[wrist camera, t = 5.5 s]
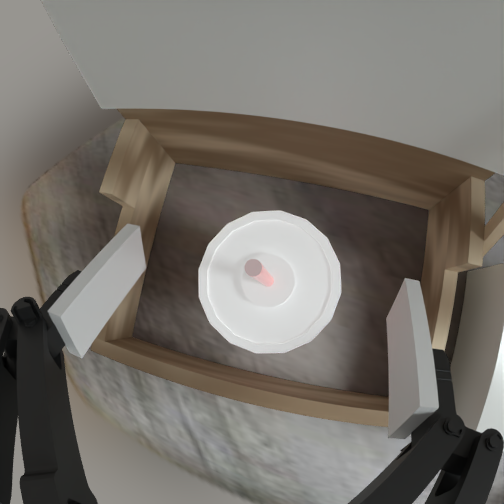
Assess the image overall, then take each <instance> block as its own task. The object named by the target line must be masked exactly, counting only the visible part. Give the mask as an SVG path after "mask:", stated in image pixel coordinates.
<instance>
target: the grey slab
mask: <svg viewBox="0 0 504 504" xmlns="http://www.w3.org/2000/svg"><path fill="white" fill-rule="evenodd" d="M450 369H451V371H450V373H451V376H452V383H453V390H454V398H455V407H456V413H457V415H459V416H460V417H461V419H462V420H463V422H464V424H465V426H466V427H468V428H470V429H473V430H475V431H478V432H480V433H483V432H484V431H485V430H486V429H490V428H493V429H496V430H497V431H499V432H500V433H501V435H502V437H503V440H504V263H502V264H498V265H494V266H490V267H486V268H482V269H478V270H473V271H469V272H467V280H466V288H465V295H464V302H463V308H462V314H461V320H460V325H459V331H458V336H457V340H456V345H455V350H454V354H453V358H452V362H451V366H450ZM503 452H504V448H503Z"/></svg>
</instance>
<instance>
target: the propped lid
mask: <svg viewBox="0 0 504 504" xmlns="http://www.w3.org/2000/svg"><path fill="white" fill-rule="evenodd" d="M41 1H42V4H43V5H44V7H45V9H46V11H47V13H48V15H49V17H50V19H51V21H52V23H53V25H54V27H55V28H56V30H57V32H58V34H59V36H60V37H61V39H62V41H63V43H64V45H65V47H66V49H67V50H68V52H69V54H70V56H71V58H72V59H73V61H74V63H75V64H76V66H77V68H78V70H79V72H80V73H81V75H82V77H83V78H84V80H85V82H86V84H87V86H88V87H89V89H90V91H91V92H92V94H93V96H94V98H95V99H96V101H97V103H98V104H99V106H100V108H101V109H178V110H197V111H212V112H224V113H235V114H245V115H254V116H262V117H270V118H278V119H285V120H292V121H298V122H305V123H311V124H316V125H322V126H328V127H333V128H338V129H343V130H348V131H353V132H358V133H362V134H367V135H371V136H376V137H380V138H384V139H388V140H392V141H396V142H400V143H404V144H408V145H411V146H415V147H418V148H422V149H426V150H429V151H432V152H436V153H439V154H442V155H446V156H449V157H452V158H455V159H458V160H461V161H464V162H467V163H470V164H473V165H476V166H479V167H481V168H484V169H487V170H490V171H492V172H495V173H498V174H500V175H503V176H504V0H41ZM503 235H504V202H503V204H502V205H501V206H500V207H499V209H498V210H497V211H496V213H495V214H494V215H493V217H492V218H491V219H490V220H489V222H488V223H487V224H486V225H485V231H484V249H483V257H484V255H485V254H486V253H487V252H488V251H489V250H490V249H491V248H492V247H493V246H494V245H495V244H496V243H497V241H498V240H499V239H500V238H501V237H502V236H503Z"/></svg>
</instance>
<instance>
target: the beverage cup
mask: <svg viewBox="0 0 504 504" xmlns="http://www.w3.org/2000/svg"><path fill="white" fill-rule="evenodd" d="M198 272H199V299H200V301H201V304H202V306H203V309H204V311H205V313H206V316H207V318H208V321H209V323H210V324H211V325H212V326H213V327H214V328H215V329H216V330H217V331H218V332H219V333H220V334H221V335H222V336H223V337H224V338H225V339H226V340H227V341H228V342H229V343H231V344H234V345H236V346H239V347H241V348H244V349H246V350H249V351H251V352H254V353H286V352H288V351H290V350H293V349H295V348H297V347H299V346H302V345H304V344H306V343H308V342H310V341H312V340H313V339H314V338H315V337H316V336H317V335H318V334H319V333H320V331H321V330H322V329H323V328H324V327H325V326H326V325H327V324H328V323H329V322H330V321H331V319H332V317H333V314H334V311H335V309H336V306H337V303H338V301H339V298H340V295H341V274H340V263H339V261H338V259H337V256H336V254H335V252H334V250H333V248H332V246H331V244H330V242H329V240H328V238H327V237H326V236H325V235H324V234H322V233H321V232H320V231H319V230H318V229H317V228H316V227H315V226H313V225H312V224H311V223H310V222H309V221H308V220H307V219H304V218H301V217H298V216H295V215H292V214H289V213H286V212H283V211H280V210H278V211H260V212H251V213H249V214H247V215H245V216H243V217H241V218H238V219H236V220H234V221H232V222H230V223H228V224H227V225H226V226H225V227H224V228H223V229H222V230H221V231H220V232H219V233H218V234H217V235H216V236H215V237H214V238H213V240H212V241H211V242H210V243H209V244H208V247H207V249H206V252H205V254H204V257H203V259H202V262H201V264H200V267H199V269H198Z"/></svg>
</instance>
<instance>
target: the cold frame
mask: <svg viewBox="0 0 504 504" xmlns="http://www.w3.org/2000/svg"><path fill="white" fill-rule="evenodd" d="M117 110H118V111H119V112H120V113H121V114H122V116H123V117H124V118H125V122H124V124H123V127H122V129H121V132H120V134H119V137H118V139H117V142H116V145H115V147H114V150H113V153H112V156H111V158H110V161H109V164H108V167H107V170H106V173H105V175H104V178H103V181H102V185H101V188H100V191H99V192H100V193H101V194H103V195H105V196H106V197H108V198H110V199H111V200H113V201H115V202H116V203H118V204H120V205H121V206H122V210H121V213H120V217H119V220H118V224H117V227H116V231H115V235H114V237H115V236H116V235H117V234H118V233H119V231H120V230H121V229H122V228H123V227H124V226H125V225H126V224H132V225H138V226H140V232H141V238H142V244H143V250H144V256H145V262H146V269H147V264H148V260H149V256H150V252H151V248H152V244H153V240H154V236H155V233H156V229H157V225H158V221H159V218H160V214H161V210H162V207H163V203H164V200H165V196H166V193H167V189H168V186H169V183H170V179H171V176H172V173H173V170H174V166H175V163H179V164H187V165H195V166H203V167H211V168H218V169H226V170H233V171H239V172H246V173H253V174H259V175H265V176H271V177H277V178H283V179H289V180H294V181H300V182H305V183H311V184H316V185H321V186H326V187H331V188H336V189H341V190H346V191H351V192H356V193H360V194H365V195H369V196H374V197H378V198H382V199H387V200H391V201H395V202H399V203H404V204H408V205H412V206H416V207H420V208H423V209H427V210H429V215H428V227H427V238H426V247H425V256H424V263H423V271H422V278H421V284H420V286H421V290H422V295H423V300H424V305H425V310H426V315H427V320H428V326H429V332H430V338H431V344H432V348H433V349H441V350H444V351H445V346H446V342H447V337H448V332H449V327H450V322H451V316H452V311H453V305H454V298H455V292H456V285H457V277H458V272H462V271H466V270H470V269H474V268H478V267H482V262H483V249H484V231H485V180H487V179H488V178H489V177H491V176H492V175H493V174H495V172H492V171H490V170H487V169H484V168H481V167H479V166H476V165H473V164H470V163H467V162H464V161H461V160H458V159H455V158H452V157H449V156H446V155H442V154H439V153H436V152H432V151H429V150H426V149H422V148H418V147H415V146H411V145H408V144H404V143H400V142H396V141H392V140H388V139H384V138H380V137H376V136H371V135H367V134H362V133H358V132H353V131H348V130H343V129H338V128H333V127H328V126H322V125H316V124H311V123H305V122H298V121H292V120H285V119H278V118H270V117H262V116H254V115H245V114H235V113H224V112H212V111H197V110H178V109H117ZM146 269H145V270H144V272H143V273H142V274H141V276H140V277H139V278H138V280H137V281H136V282H135V284H134V285H133V287H132V288H131V289H130V291H129V292H128V293H127V295H126V296H125V297H124V299H123V300H122V302H121V303H120V304H119V306H118V307H117V309H116V310H115V311H114V313H113V314H112V316H111V317H110V318H109V320H108V321H107V323H106V324H105V325H104V327H103V328H102V330H101V331H100V333H99V334H98V336H97V337H96V338H95V340H94V341H93V343H92V345H91V351H93V352H96V353H98V354H100V355H103V356H105V357H108V358H110V359H112V360H115V361H117V362H120V363H123V364H125V365H128V366H130V367H133V368H136V369H138V370H141V371H144V372H146V373H149V374H152V375H155V376H158V377H161V378H164V379H166V380H169V381H172V382H176V383H179V384H182V385H185V386H188V387H191V388H195V389H198V390H201V391H205V392H208V393H211V394H215V395H219V396H222V397H226V398H230V399H233V400H237V401H241V402H245V403H249V404H253V405H257V406H262V407H266V408H271V409H275V410H280V411H285V412H290V413H295V414H300V415H305V416H311V417H316V418H322V419H328V420H335V421H342V422H349V423H356V424H365V425H373V426H383V427H388V421H389V397H386V396H378V395H371V394H364V393H357V392H350V391H344V390H338V389H332V388H326V387H320V386H315V385H310V384H304V383H299V382H294V381H290V380H285V379H280V378H276V377H271V376H267V375H262V374H258V373H254V372H250V371H245V370H241V369H237V368H233V367H230V366H226V365H222V364H218V363H215V362H211V361H207V360H204V359H200V358H197V357H193V356H190V355H187V354H183V353H180V352H177V351H173V350H170V349H167V348H164V347H161V346H158V345H155V344H151V343H148V342H145V341H143V340H140V339H137V338H134V337H132V335H133V330H134V325H135V319H136V314H137V310H138V305H139V300H140V295H141V291H142V286H143V282H144V277H145V273H146Z"/></svg>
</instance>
